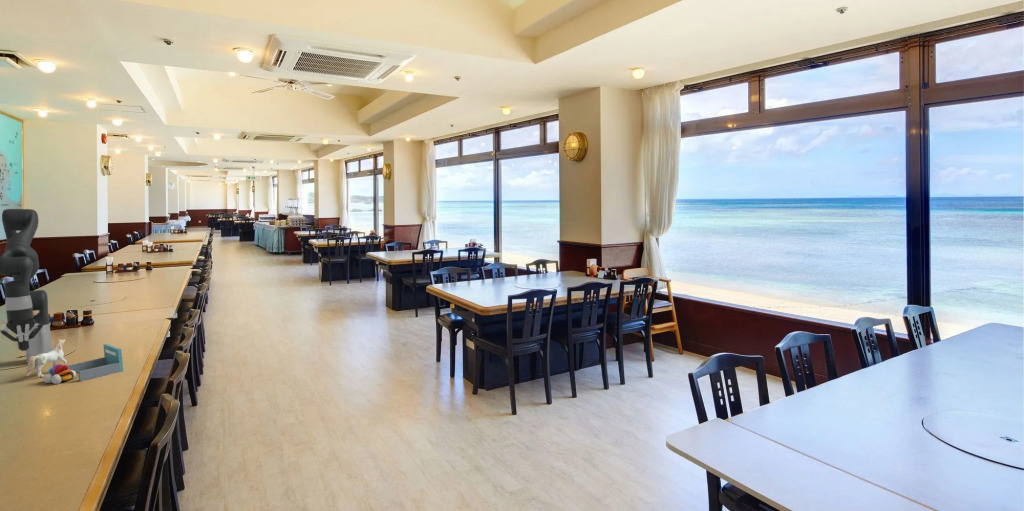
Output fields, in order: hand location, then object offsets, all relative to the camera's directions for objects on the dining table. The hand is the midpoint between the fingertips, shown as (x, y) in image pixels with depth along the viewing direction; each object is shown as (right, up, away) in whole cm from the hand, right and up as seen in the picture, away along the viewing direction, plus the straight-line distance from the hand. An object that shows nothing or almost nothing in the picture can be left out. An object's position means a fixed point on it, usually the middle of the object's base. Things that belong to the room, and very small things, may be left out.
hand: (23, 350), depth 204 cm
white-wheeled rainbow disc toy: (+5, -15, +10) cm, 19 cm away
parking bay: (+12, -14, +21) cm, 27 cm away
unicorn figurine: (-9, -14, +21) cm, 26 cm away
